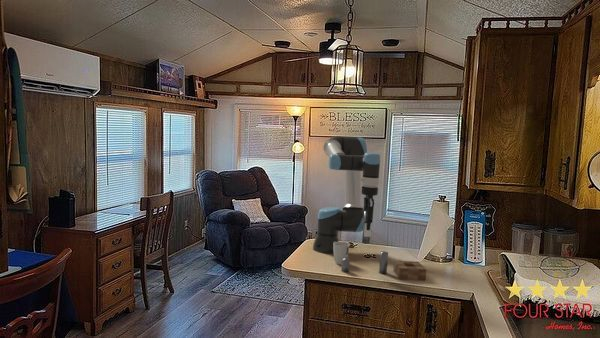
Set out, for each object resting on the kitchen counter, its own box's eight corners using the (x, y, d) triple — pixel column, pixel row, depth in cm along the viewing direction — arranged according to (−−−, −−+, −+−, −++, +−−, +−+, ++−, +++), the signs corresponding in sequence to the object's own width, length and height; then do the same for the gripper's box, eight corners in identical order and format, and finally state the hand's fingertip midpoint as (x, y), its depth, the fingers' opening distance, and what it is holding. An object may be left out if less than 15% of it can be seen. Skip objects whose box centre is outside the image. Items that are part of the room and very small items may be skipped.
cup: (347, 266, 213) (348, 246, 212) (331, 264, 214) (332, 244, 213) (349, 261, 221) (350, 242, 220) (333, 260, 222) (334, 240, 221)
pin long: (361, 241, 206) (363, 210, 205) (369, 241, 207) (371, 210, 205) (362, 243, 203) (364, 212, 201) (370, 243, 203) (372, 212, 201)
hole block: (393, 270, 210) (394, 260, 210) (417, 271, 210) (418, 261, 210) (399, 279, 198) (400, 268, 198) (425, 280, 198) (426, 269, 198)
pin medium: (378, 271, 208) (379, 251, 207) (385, 271, 208) (387, 251, 207) (379, 273, 204) (381, 253, 203) (387, 274, 204) (388, 253, 203)
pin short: (341, 269, 207) (341, 257, 207) (348, 270, 207) (349, 257, 207) (341, 272, 204) (342, 259, 203) (349, 272, 204) (350, 260, 203)
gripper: (359, 183, 210) (355, 230, 212) (365, 188, 194) (361, 239, 196) (374, 184, 210) (371, 231, 213) (381, 189, 194) (377, 240, 196)
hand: (366, 235), depth 204 cm, fingers closed on pin long, 4 cm apart
